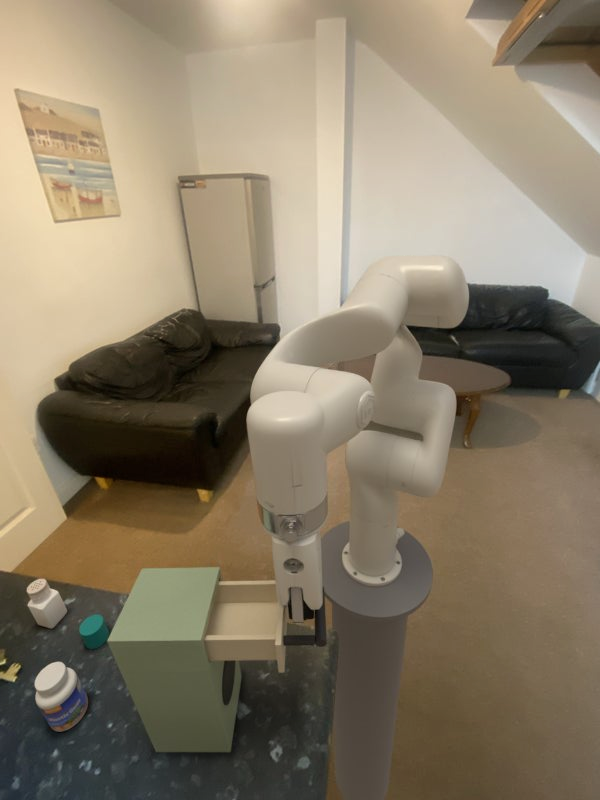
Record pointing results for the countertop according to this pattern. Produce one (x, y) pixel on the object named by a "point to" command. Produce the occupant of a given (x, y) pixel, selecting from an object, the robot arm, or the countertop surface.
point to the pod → (94, 631)
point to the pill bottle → (60, 696)
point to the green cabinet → (176, 661)
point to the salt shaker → (45, 604)
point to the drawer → (254, 624)
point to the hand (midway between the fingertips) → (301, 613)
